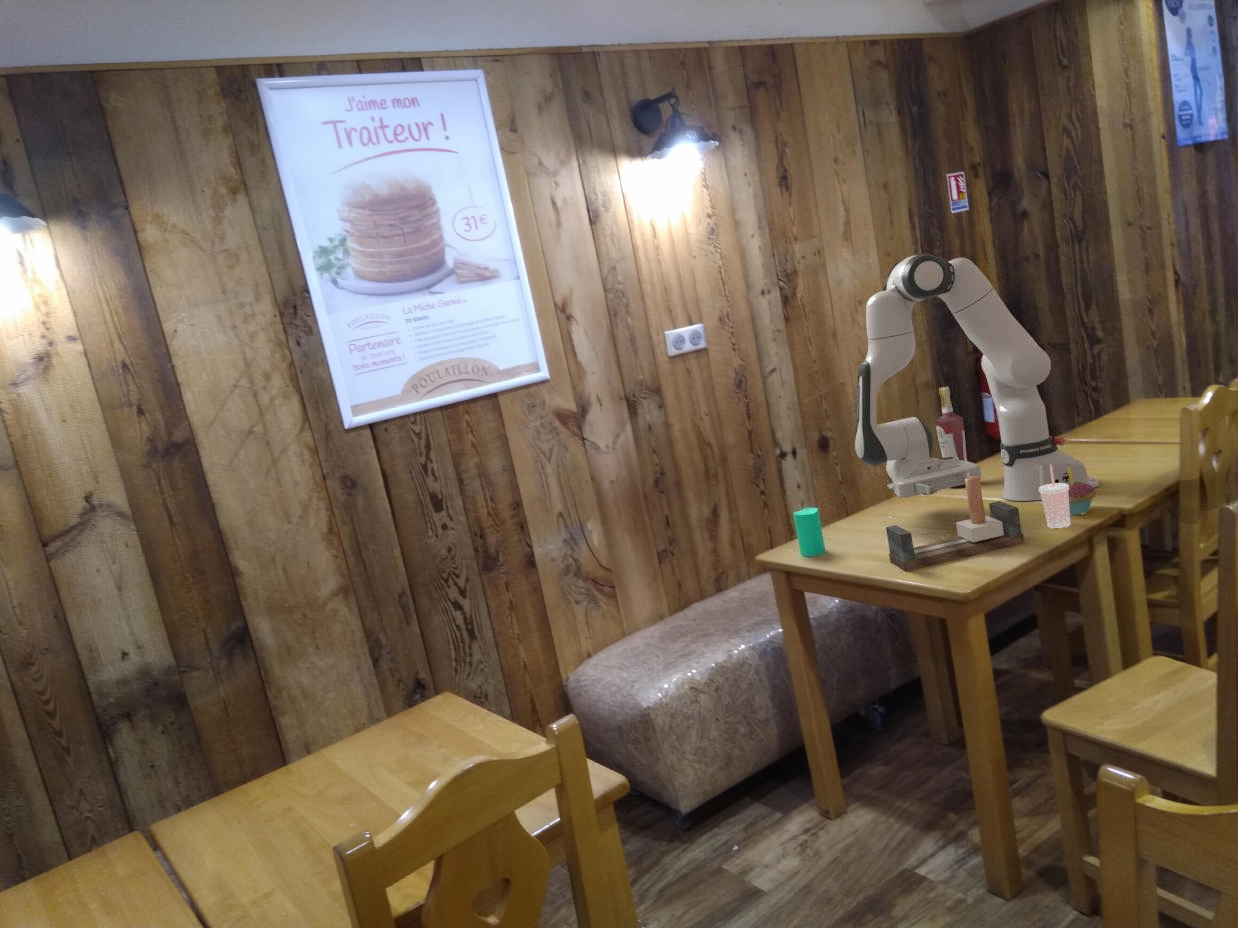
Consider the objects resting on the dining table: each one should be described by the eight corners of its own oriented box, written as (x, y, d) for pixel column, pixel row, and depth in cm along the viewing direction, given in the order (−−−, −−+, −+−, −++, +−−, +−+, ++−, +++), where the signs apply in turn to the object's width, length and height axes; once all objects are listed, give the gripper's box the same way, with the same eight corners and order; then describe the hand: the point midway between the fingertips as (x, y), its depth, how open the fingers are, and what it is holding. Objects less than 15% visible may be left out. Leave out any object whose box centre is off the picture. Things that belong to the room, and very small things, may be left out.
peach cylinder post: (987, 528, 200) (979, 472, 198) (1003, 535, 194) (995, 476, 192) (957, 535, 200) (949, 478, 198) (973, 542, 193) (964, 484, 191)
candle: (823, 546, 222) (815, 500, 220) (827, 553, 216) (818, 505, 214) (799, 551, 222) (791, 504, 220) (802, 557, 216) (793, 510, 215)
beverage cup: (1059, 519, 204) (1051, 460, 202) (1080, 523, 198) (1072, 462, 196) (1037, 526, 202) (1029, 466, 200) (1058, 531, 197) (1050, 469, 194)
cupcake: (1096, 516, 201) (1089, 464, 199) (1054, 518, 206) (1047, 468, 204) (1099, 505, 208) (1092, 455, 206) (1058, 508, 213) (1052, 459, 211)
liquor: (978, 484, 249) (963, 385, 244) (954, 490, 247) (939, 391, 243) (962, 480, 256) (948, 384, 252) (939, 486, 255) (924, 390, 250)
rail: (1005, 534, 202) (1000, 500, 200) (1024, 542, 194) (1019, 507, 192) (890, 561, 200) (884, 527, 199) (904, 571, 192) (898, 535, 191)
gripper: (882, 473, 219) (905, 482, 205) (962, 454, 220) (990, 462, 207) (886, 498, 220) (909, 508, 206) (965, 479, 221) (994, 489, 208)
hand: (950, 485), depth 206 cm, fingers open, 8 cm apart
